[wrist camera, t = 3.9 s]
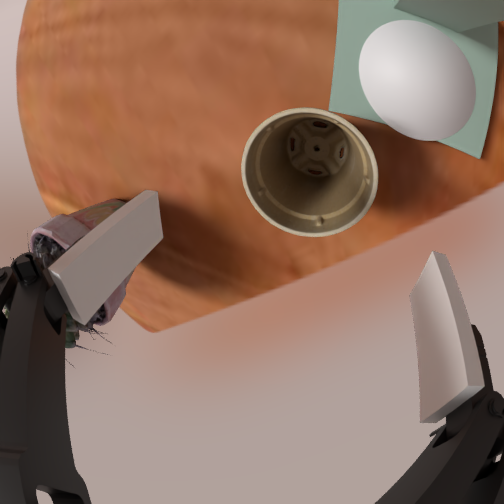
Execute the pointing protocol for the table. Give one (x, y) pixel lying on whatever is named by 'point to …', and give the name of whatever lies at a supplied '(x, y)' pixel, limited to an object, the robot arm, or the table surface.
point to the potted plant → (57, 241)
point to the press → (419, 67)
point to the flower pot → (301, 180)
